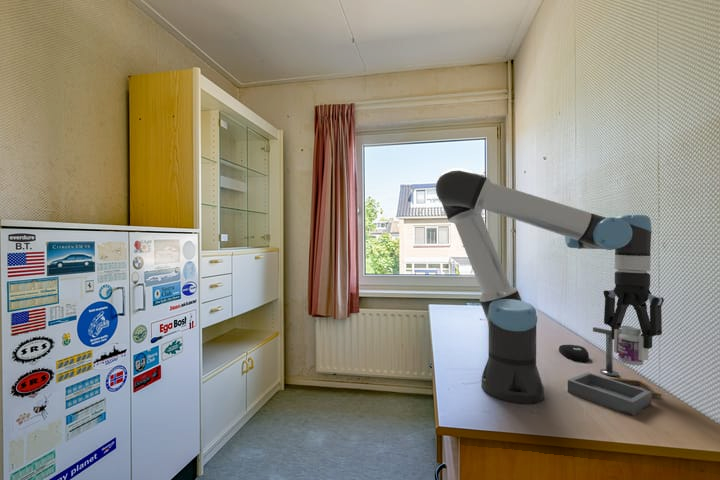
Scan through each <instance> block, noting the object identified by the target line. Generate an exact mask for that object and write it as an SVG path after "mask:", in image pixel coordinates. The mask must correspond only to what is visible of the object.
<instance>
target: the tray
mask: <svg viewBox="0 0 720 480" xmlns="http://www.w3.org/2000/svg"><path fill="white" fill-rule="evenodd" d="M609 378H610V377H609ZM609 378H606V376H602V375H599V374H595V373H593V372H588V371H587V372H585V373H582V374H579V375H577V376H574V377H572V378H570V379H567V392H568V393H570V394H573V395H576V396H578V397H581V398H583V399H587V400H588V401H589V400H590V401H592V402H595V403H597V404H599V405H603V406H605V407H608V408H610V409H613V410H616V411H619V412H621V413H623V414H626V415H629V416H632V417H634V416H635V415H637V414H639V413H640V412H641V411H644V410H645V409H646V408H648V407H650V406H651V405H652V397H651V391H648V390H646V389H645V388H642V387H638V386H635V385H632V384H625V383H622V382H618V381H615V380H612V379H609Z"/></svg>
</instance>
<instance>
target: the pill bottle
mask: <svg viewBox="0 0 720 480" xmlns="http://www.w3.org/2000/svg"><path fill="white" fill-rule="evenodd" d="M621 327H622V328H621V329H622V332H623V333H620V334H619V341H618V353H617V359H618V361H620V363H623V364H626V365H629V366H631V365H632V366H643V365H644V360H643V361H641V360H638V350H639V335H641V334H642V331H641V328H640V327H638V326H637V327H636V326H630V325H621Z"/></svg>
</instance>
